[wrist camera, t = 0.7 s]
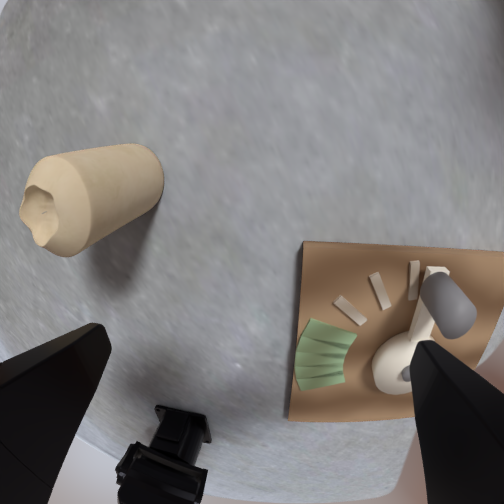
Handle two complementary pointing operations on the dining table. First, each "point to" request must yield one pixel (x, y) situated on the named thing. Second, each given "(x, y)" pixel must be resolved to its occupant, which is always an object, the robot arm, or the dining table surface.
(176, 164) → the dining table surface
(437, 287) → the needle
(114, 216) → the candle
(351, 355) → the dial board
